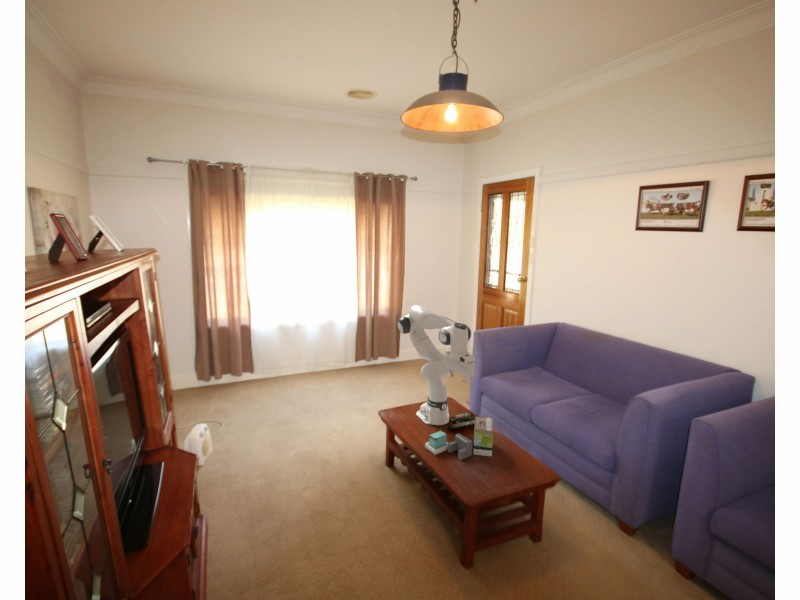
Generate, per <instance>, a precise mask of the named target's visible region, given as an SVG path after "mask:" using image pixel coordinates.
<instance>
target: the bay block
mask: <svg viewBox="0 0 800 600" xmlns="http://www.w3.org/2000/svg"><path fill="white" fill-rule="evenodd" d="M447 443H448V450H447V452H448V453H450V454H451V453H453V452H455V451H457V458H458V460H459V461H462V460H464V459H467V458H469V457H471V456H472V455H473V440H471V439H469V438H468V437H466V436H464V435H463V434H461V433H456V434H454V441H451V442H447Z"/></svg>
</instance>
